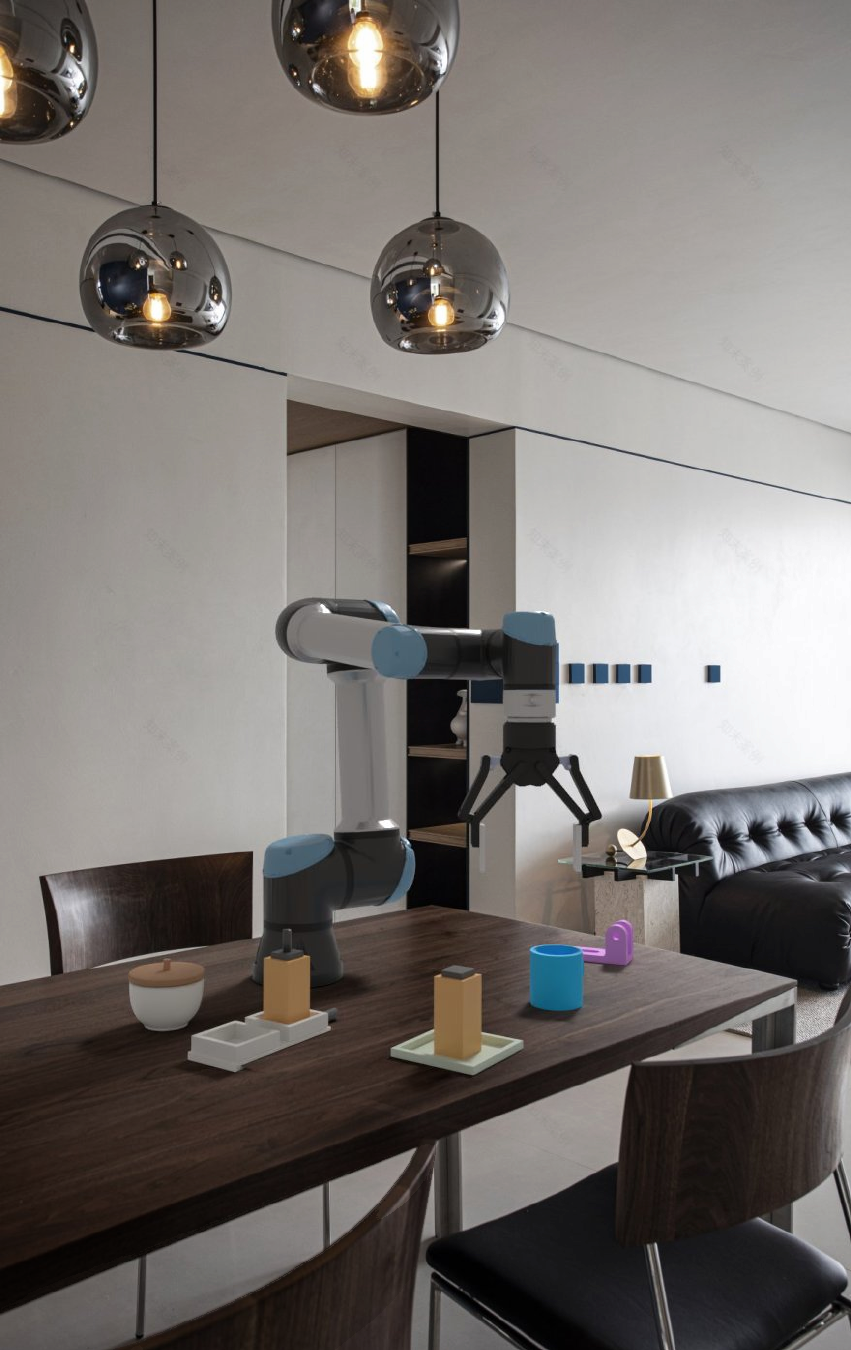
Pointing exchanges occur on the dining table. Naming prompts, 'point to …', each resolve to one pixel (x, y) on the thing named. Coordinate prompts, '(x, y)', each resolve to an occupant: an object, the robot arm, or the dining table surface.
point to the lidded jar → (166, 994)
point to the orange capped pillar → (457, 1012)
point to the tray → (423, 1052)
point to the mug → (556, 977)
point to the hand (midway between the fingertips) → (529, 870)
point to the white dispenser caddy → (267, 1016)
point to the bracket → (613, 946)
